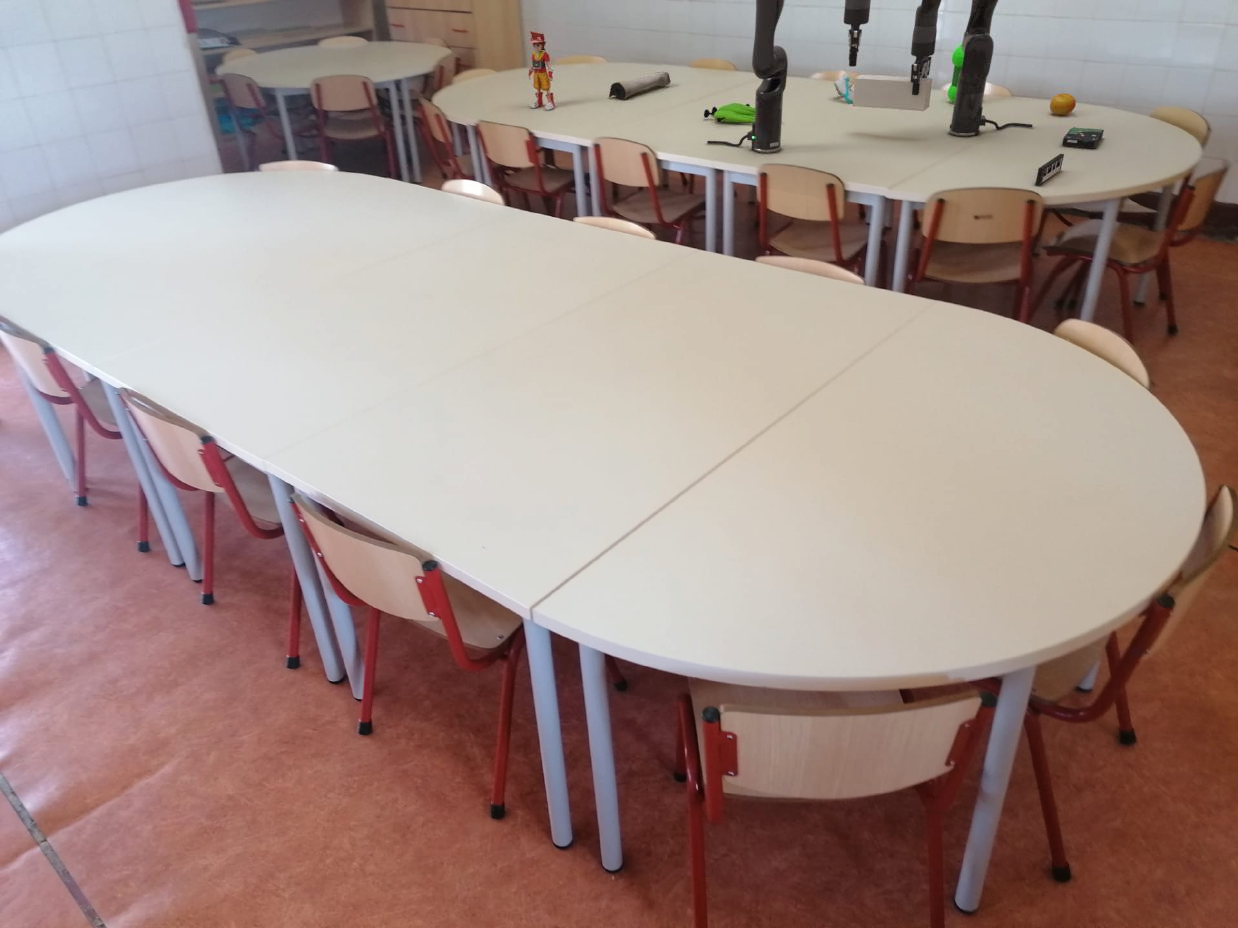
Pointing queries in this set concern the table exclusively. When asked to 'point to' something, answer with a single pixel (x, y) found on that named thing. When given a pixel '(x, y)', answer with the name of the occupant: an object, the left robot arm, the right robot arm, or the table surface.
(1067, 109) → the fruit
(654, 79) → the rolled mat
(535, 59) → the toy
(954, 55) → the green tall lumpy piece
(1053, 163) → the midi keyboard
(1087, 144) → the disk drive
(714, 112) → the toy
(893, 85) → the box
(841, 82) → the anatomical model
